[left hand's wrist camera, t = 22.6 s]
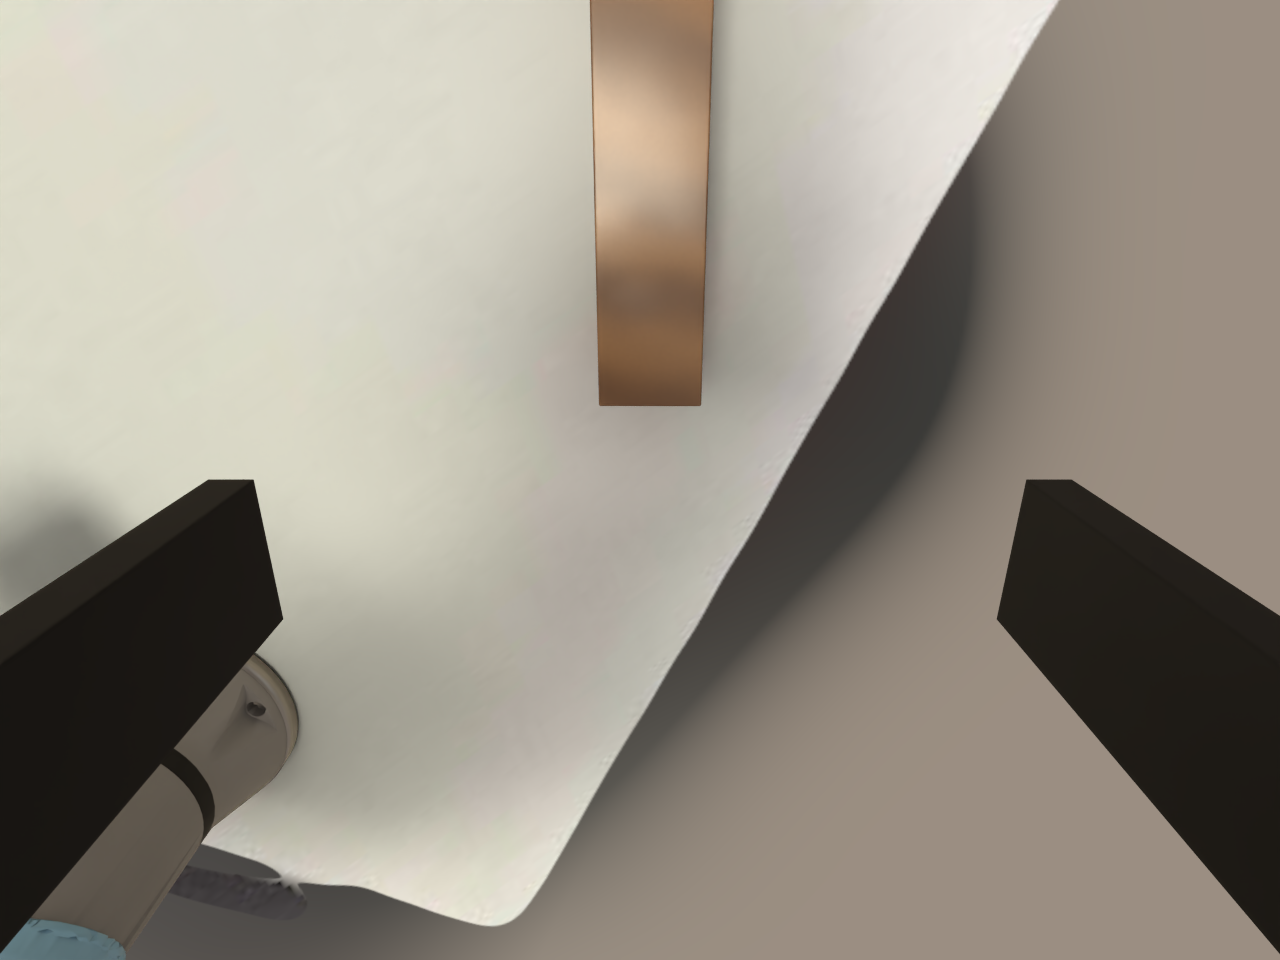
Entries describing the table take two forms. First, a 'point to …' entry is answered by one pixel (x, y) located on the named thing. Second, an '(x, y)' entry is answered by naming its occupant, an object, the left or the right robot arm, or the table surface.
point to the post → (650, 196)
